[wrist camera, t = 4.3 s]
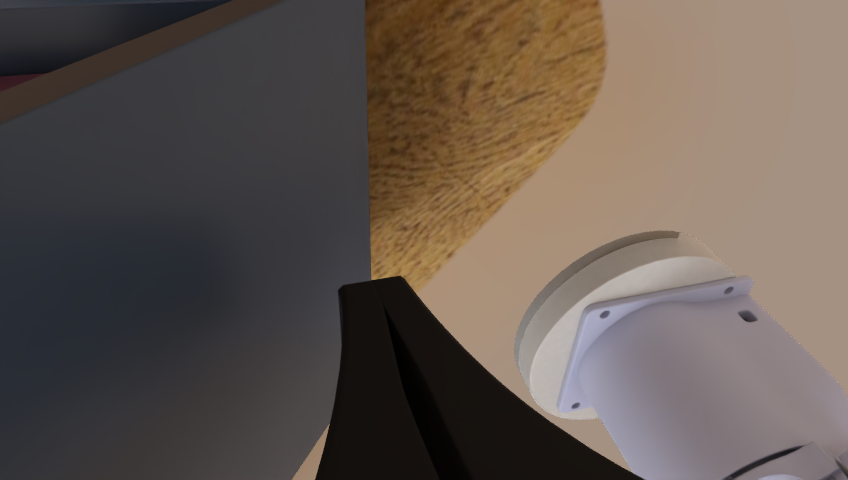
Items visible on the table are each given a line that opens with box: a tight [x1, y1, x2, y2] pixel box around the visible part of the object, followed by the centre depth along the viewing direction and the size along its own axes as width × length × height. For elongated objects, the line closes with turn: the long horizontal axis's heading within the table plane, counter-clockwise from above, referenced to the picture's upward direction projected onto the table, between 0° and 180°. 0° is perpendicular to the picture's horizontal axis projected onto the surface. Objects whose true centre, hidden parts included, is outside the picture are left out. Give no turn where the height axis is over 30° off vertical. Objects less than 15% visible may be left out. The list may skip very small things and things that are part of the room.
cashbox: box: [0, 0, 232, 76], centre depth 17 cm, size 12×12×5 cm
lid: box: [0, 0, 371, 480], centre depth 11 cm, size 12×12×1 cm
